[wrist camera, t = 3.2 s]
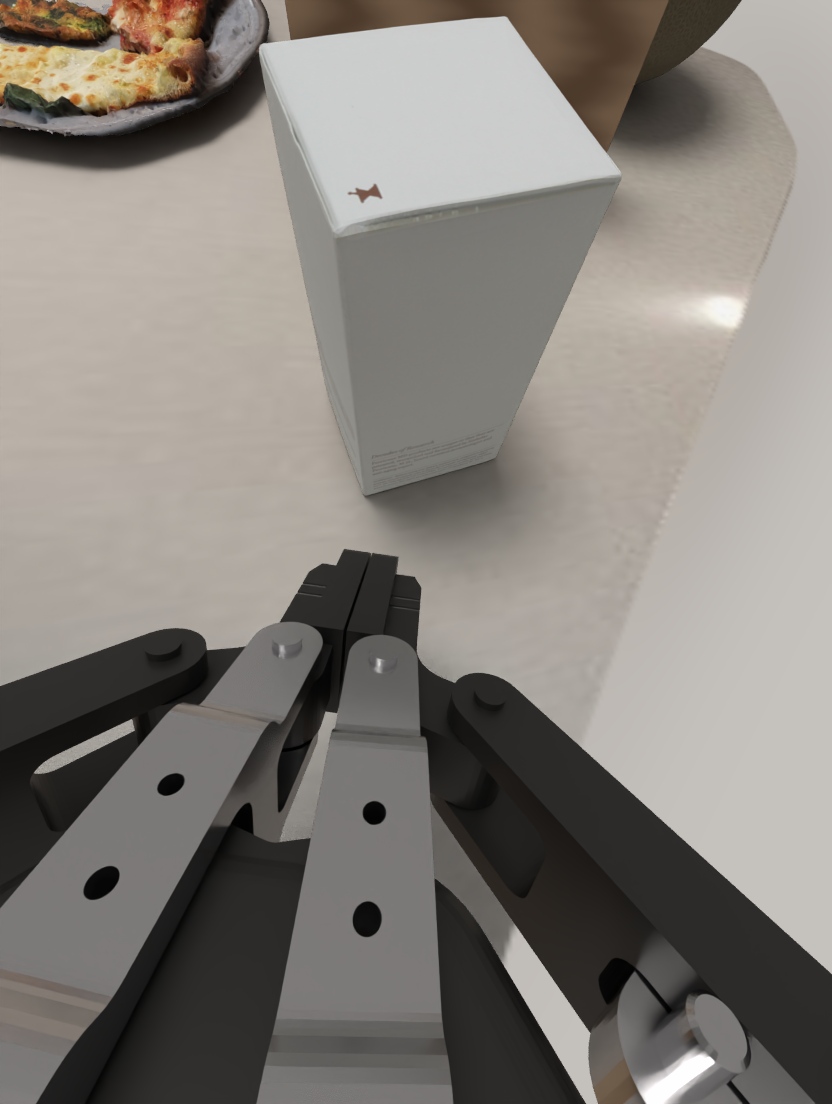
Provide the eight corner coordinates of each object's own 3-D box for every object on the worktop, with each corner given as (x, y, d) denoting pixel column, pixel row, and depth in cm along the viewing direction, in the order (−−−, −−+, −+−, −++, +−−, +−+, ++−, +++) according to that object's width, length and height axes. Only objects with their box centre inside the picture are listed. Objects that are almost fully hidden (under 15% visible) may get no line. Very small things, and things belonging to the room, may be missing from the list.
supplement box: (499, 461, 22) (638, 178, 10) (361, 500, 20) (323, 231, 8) (450, 351, 24) (513, 4, 12) (322, 380, 23) (246, 29, 11)
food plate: (304, -1, 34) (294, -77, 31) (223, 193, 27) (198, 123, 23) (3, -40, 34) (-40, -119, 31) (-157, 141, 27) (-236, 64, 24)
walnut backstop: (308, 157, 28) (253, -207, 17) (314, 138, 29) (266, -225, 17) (586, 202, 28) (719, -125, 17) (586, 182, 29) (714, -145, 18)
